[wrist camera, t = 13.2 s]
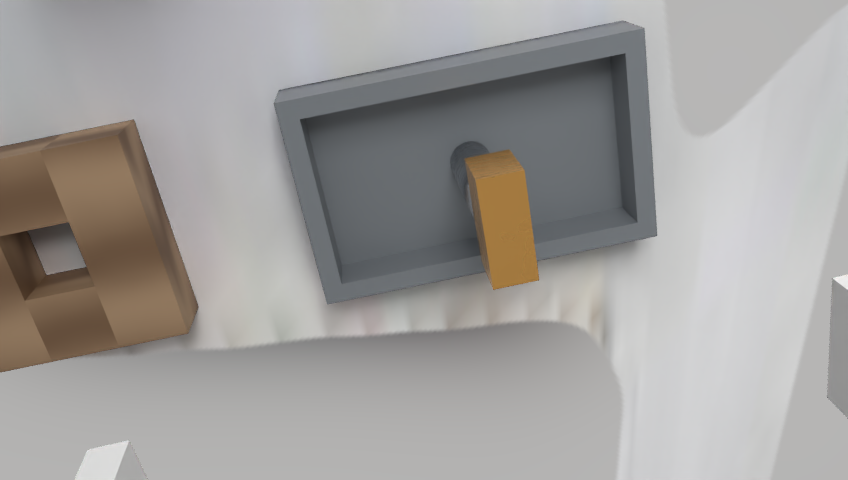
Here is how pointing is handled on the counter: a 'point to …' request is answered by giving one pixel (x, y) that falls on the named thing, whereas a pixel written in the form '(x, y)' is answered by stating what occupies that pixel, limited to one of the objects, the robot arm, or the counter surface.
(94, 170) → the block
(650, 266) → the counter surface
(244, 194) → the counter surface
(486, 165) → the tall wooden block
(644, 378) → the counter surface
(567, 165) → the parts tray
